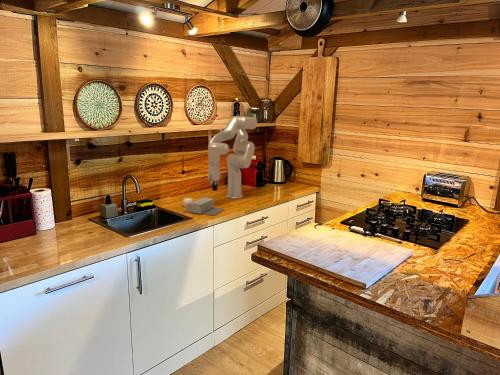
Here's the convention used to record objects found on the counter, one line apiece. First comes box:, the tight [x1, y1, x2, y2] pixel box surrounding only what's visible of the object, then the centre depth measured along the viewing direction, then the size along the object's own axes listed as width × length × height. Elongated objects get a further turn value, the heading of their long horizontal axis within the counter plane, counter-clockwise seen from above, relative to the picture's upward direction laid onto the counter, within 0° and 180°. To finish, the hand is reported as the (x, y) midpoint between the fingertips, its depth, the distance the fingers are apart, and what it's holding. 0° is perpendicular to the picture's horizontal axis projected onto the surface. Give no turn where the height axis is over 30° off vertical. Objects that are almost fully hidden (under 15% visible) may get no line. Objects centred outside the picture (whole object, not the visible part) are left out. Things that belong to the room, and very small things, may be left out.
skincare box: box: [190, 196, 215, 215], centre depth 244 cm, size 8×7×16 cm
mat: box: [183, 207, 226, 217], centre depth 245 cm, size 15×22×1 cm
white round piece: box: [182, 197, 194, 208], centre depth 255 cm, size 6×6×5 cm
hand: (214, 190), depth 257 cm, fingers closed
